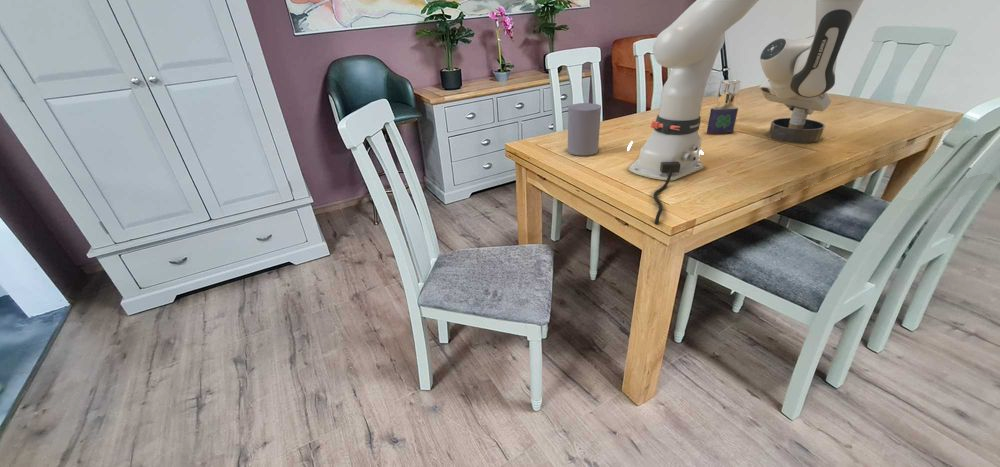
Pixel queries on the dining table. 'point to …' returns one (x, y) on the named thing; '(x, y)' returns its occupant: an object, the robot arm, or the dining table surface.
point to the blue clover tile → (722, 120)
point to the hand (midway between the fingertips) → (801, 110)
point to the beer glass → (728, 93)
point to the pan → (796, 131)
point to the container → (583, 129)
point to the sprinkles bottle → (798, 118)
